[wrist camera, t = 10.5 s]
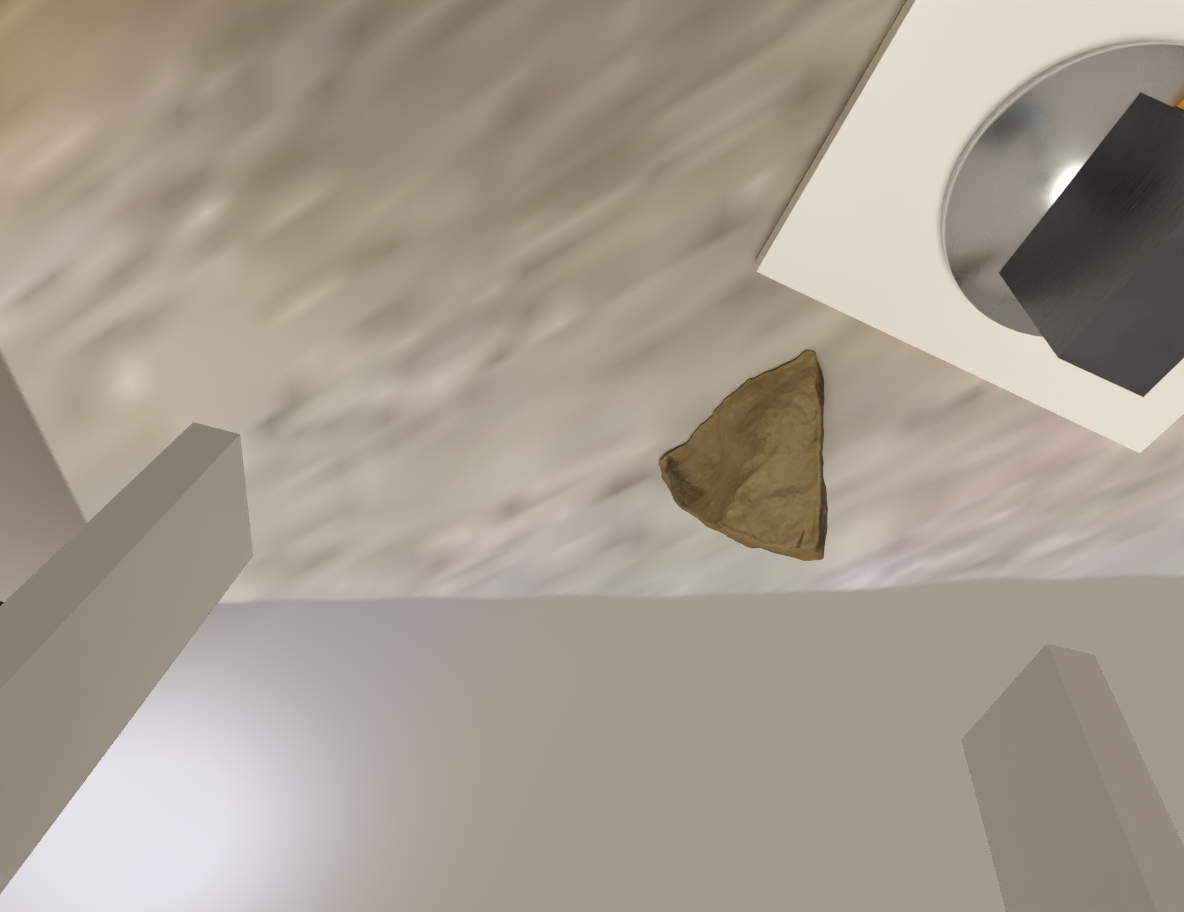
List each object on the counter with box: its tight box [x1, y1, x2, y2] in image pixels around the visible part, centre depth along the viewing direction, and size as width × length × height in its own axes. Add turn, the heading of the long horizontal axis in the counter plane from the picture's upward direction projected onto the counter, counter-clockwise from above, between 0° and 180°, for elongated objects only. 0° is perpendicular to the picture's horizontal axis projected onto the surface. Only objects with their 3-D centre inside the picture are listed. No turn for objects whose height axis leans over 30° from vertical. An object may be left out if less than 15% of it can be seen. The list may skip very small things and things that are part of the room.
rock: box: [659, 350, 828, 561], centre depth 41 cm, size 11×9×10 cm
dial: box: [941, 41, 1184, 397], centre depth 29 cm, size 12×12×9 cm
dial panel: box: [756, 0, 1184, 453], centre depth 33 cm, size 22×18×2 cm
